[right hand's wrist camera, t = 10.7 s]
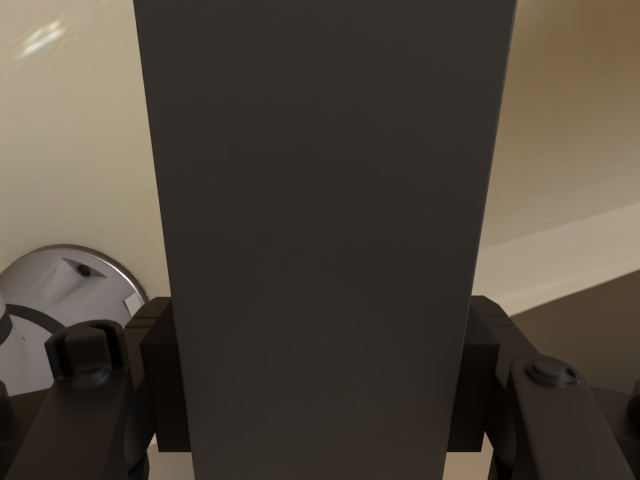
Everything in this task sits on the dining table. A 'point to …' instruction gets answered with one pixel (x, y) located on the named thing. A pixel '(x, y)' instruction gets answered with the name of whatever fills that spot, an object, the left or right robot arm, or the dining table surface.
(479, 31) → the beam
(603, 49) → the dining table surface
